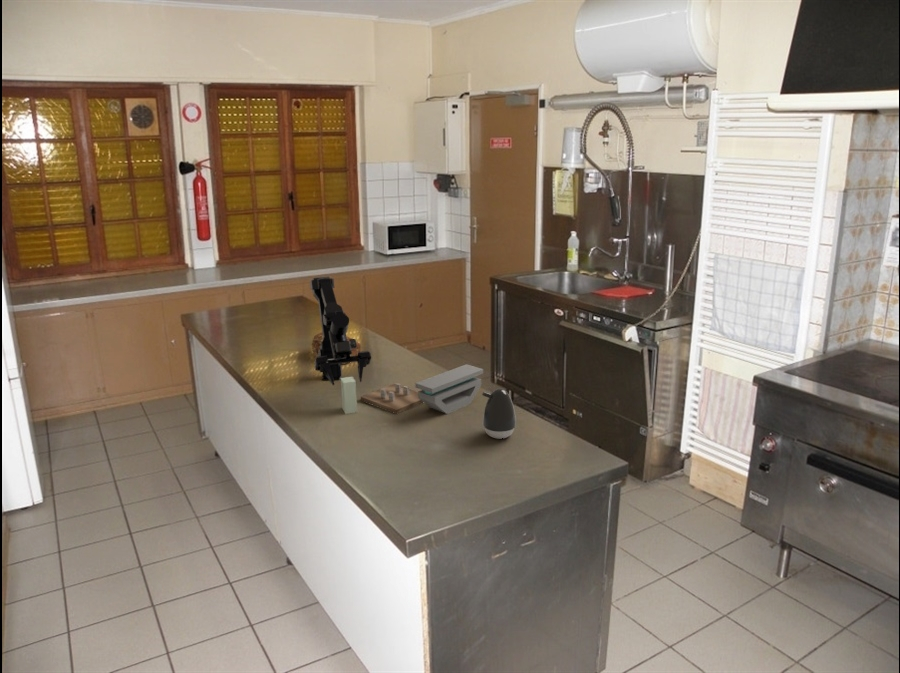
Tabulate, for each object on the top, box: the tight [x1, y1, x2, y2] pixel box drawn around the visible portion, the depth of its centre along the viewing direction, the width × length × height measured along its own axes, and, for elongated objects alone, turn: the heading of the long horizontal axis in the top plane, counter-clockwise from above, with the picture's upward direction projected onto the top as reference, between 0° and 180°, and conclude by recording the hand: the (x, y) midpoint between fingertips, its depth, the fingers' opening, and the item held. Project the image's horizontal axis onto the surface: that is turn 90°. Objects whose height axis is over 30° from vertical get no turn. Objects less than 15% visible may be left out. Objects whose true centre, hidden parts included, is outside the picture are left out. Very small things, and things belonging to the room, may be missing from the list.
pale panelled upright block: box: [340, 376, 358, 415], centre depth 232 cm, size 4×6×11 cm
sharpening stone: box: [414, 363, 484, 415], centre depth 235 cm, size 25×8×11 cm, turn 136°
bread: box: [311, 332, 362, 365], centre depth 284 cm, size 19×11×10 cm, turn 54°
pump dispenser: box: [481, 388, 517, 440], centre depth 212 cm, size 10×10×15 cm
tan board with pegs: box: [360, 382, 424, 415], centre depth 241 cm, size 16×18×4 cm
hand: (347, 383), depth 232 cm, fingers open, 9 cm apart
